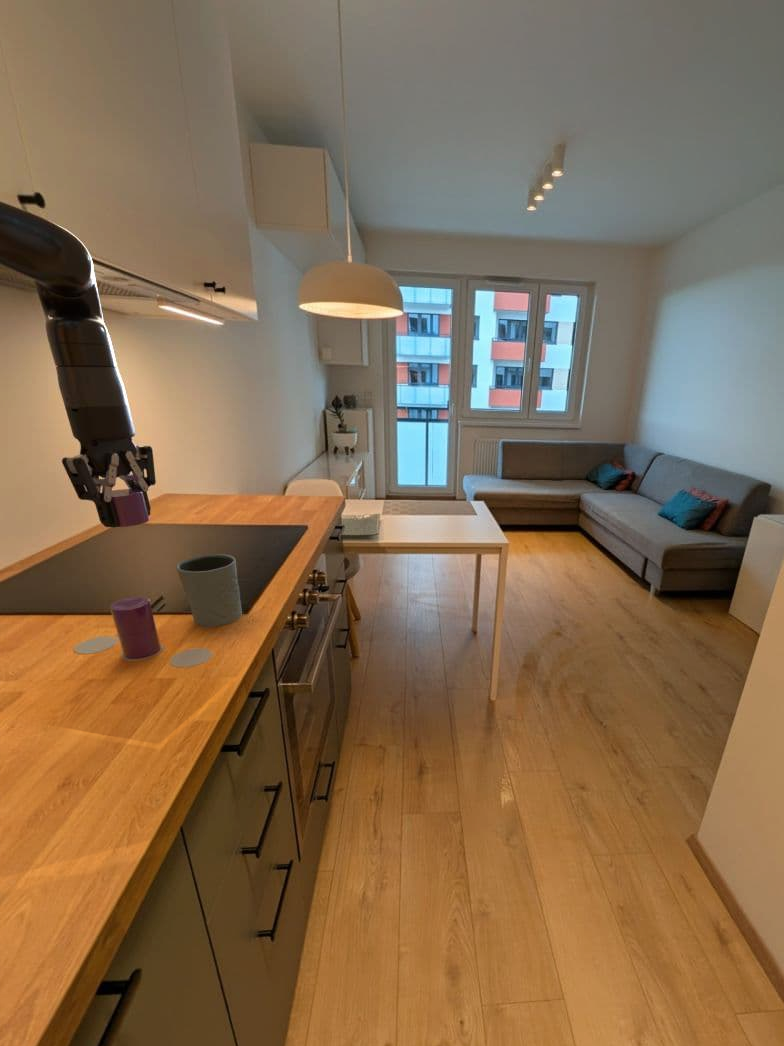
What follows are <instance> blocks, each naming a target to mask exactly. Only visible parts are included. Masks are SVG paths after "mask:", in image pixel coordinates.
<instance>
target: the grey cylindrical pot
mask: <svg viewBox="0 0 784 1046" xmlns="http://www.w3.org/2000/svg"><path fill="white" fill-rule="evenodd" d="M176 571H177V574H178V577H179V580H180V581H181V584H182V587H183V590H184V592H185V596H186V599H187V602H188V604H189V607H190V608H191V610H190V612H191V615H192V618H193V620H194V623H195V624H196V625H197V626H200V627H205V628H215V627H222V626H226V625H230V624H232V623H234V622H236V621H238V620H239V619H241V618H242V616H243V611H242V610H243V609H242V601H241V593H240V586H239V581H238V578H239V577H238V569H237V561H236V557H234V556H233V555H230V554H224V553H213V554H204V555H203V554H202V555H198V556H193V557H189V558H187V559H185V560H182V561H181V562H179V563H178V564H177V566H176Z"/></svg>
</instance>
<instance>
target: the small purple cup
mask: <svg viewBox="0 0 784 1046" xmlns="http://www.w3.org/2000/svg"><path fill="white" fill-rule="evenodd" d="M116 633H117V632H116ZM117 637H118V640H119V644H120V648H121V651H122V652H123V654H124V657H126V658H128V659H140V658H145V657H149V656H151V655H153V654H155V653H157V652H158V651H159V650H160V649H161V645H160V643H161V642H160V637H159V633H158V629H157V626H156V624H155V626H154V627H153V628H152V629H150V630H148V631H146V632H143V633H140V634H135V635H121V634H118V633H117Z"/></svg>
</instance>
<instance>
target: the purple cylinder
mask: <svg viewBox="0 0 784 1046" xmlns="http://www.w3.org/2000/svg"><path fill="white" fill-rule="evenodd" d="M109 605H110V606H109V610H110V613H111V616H112V619H113V623H114V627H115V630H116V633H118V634H121V635H135V634H140V633H143V632H146V631H148V630H150V629H152V628H153V627H154V626H155V625H156V620H155V617H154V613H153V610H152V606H151V602H150V599H149V598H148V597H146V596H130V597H125V598H121V599H119V600H116V601H114V602H112V603H111V604H109ZM118 634H117V635H118Z"/></svg>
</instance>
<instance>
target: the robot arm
mask: <svg viewBox="0 0 784 1046" xmlns="http://www.w3.org/2000/svg"><path fill="white" fill-rule="evenodd" d="M0 266H2V267H5V268H7V269H9V270H11V271H14V272H16V273H18V274H21V275H23V276H25V277H28V278H30V279H32V280H33V283H34V287H35V289H36V291H37V295H38V299H39V302H40V305H41V308H42V311H43V314H44V317H45V332H46V333H45V334H46V337H47V341H48V344H49V349H50V351H51V356H52V359H53V362H54V366H55V370H56V376H57V382H58V383H57V384H58V387H59V391H60V395H61V398H62V401H63V404H64V409H65V412H66V416H67V419H68V423H69V426H70V430H71V434H72V436H73V438H74V439H75V440H77V441H78V442H79V447H80V449H79V454H77V455H75V456H72V457H63V458H62V459H61V463H62V466H63V468H64V470H65V472H66V474H67V476H68V478H69V480H70V483H71V484H72V487H73V489H74V492H75V493H76V496H77V497H78V499H79V500H80V501H81V500H82V501H90V502H92V503H94V505H95V509H96V512H97V515H98V520H99V522H100V523H101V524H102V525H103V526H104V527H105V528H118V527H117V526H119V520H118V517H117V513H116V509H115V506H114V502H112V501H111V499H112V490H113V488H114V487H115V486H116V482H117V479H118V478H119V479H120V480H122V481H123V482H124V484H125V486H127V487H128V488H127V489H139V490H142V492H143V496H144V500H145V504H146V508H147V512H148V516H149V517H150V516H151V504H150V500H149V495H148V491H149V488H150V487H151V486H155V485H156V483H157V480H156V471H155V461H154V460H155V459H154V451H153V447H152V446H151V445H136V444H135V443H134V441H133V437H135V436H136V429H135V425H134V422H133V421H134V420H133V417H132V412H131V407H130V404H129V400H128V396H127V391H126V387H125V385H124V381H123V378H122V376H121V373H120V370H119V367H118V363H117V358H116V355H115V351H114V347H113V343H112V339H111V336H110V333H109V331H108V328H107V326H106V324H105V320H104V316H103V310H102V305H101V300H100V296H99V290H98V286H97V280H96V274H95V269H94V262H93V259H92V256H91V254H90V252H89V250H88V249H87V247H86V245H84V243H83V242H82V241H81V240H80V239H79V238H78V237H77V236H76V235H74V234H73V233H72V232H70V231H69V230H68V229H66V228H65V227H62V226H61V225H58V223H57V224H56V223H54V222H53V221H50V220H49V219H47V218H44V217H41V216H39V215H37V214H35V213H32V212H29V211H27V210H24V209H22V208H19V207H16V206H14V205H11V204H9V203H6V202H4V201H1V200H0ZM145 472H146V476H145Z"/></svg>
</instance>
